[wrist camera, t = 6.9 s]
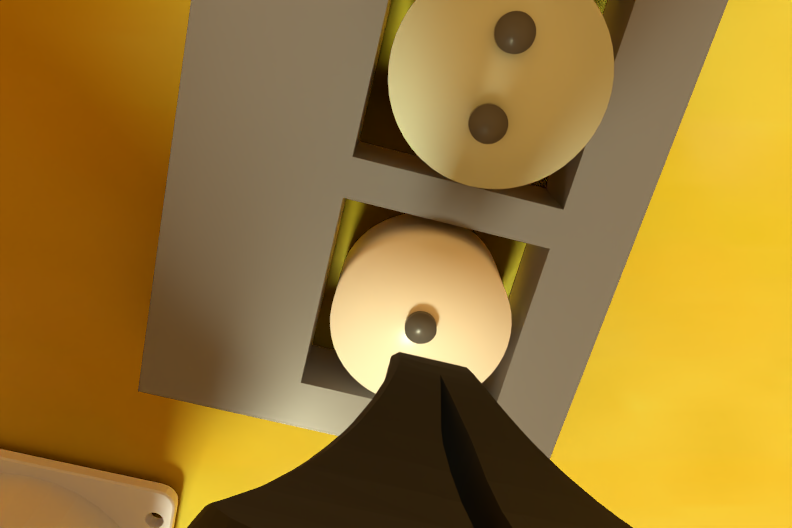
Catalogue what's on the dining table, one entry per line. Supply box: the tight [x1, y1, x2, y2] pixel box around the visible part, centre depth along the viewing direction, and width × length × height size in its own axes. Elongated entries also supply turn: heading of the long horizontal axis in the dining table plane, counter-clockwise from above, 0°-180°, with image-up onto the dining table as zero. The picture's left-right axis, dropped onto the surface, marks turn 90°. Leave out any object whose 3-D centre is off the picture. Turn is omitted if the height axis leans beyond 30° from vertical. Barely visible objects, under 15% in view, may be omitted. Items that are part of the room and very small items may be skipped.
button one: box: [330, 214, 512, 394], centre depth 16 cm, size 4×4×2 cm
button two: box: [388, 0, 614, 189], centre depth 13 cm, size 4×4×2 cm
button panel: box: [138, 0, 728, 459], centre depth 14 cm, size 18×10×2 cm, turn 166°
